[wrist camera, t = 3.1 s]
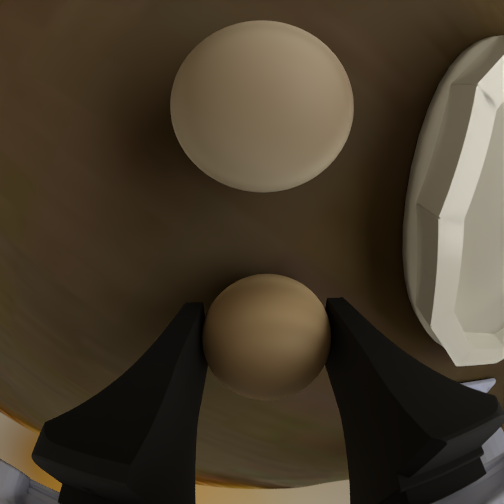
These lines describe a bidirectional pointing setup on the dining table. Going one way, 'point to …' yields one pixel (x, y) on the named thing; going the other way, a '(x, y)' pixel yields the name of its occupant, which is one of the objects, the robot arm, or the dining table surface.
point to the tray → (460, 210)
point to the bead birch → (262, 106)
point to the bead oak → (266, 337)
